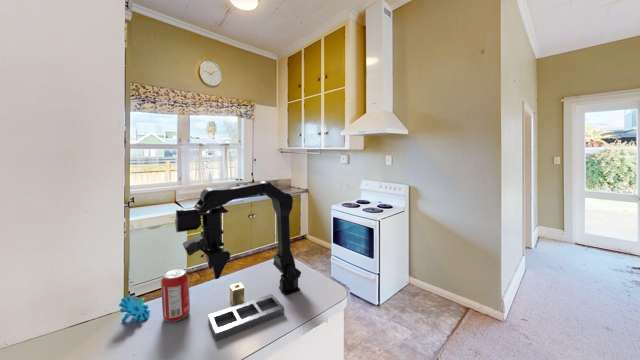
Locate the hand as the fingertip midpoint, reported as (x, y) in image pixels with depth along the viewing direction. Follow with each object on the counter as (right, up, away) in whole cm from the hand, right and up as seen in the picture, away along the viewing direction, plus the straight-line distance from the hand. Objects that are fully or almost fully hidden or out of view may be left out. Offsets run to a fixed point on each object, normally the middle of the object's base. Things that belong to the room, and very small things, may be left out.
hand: (213, 272), depth 84 cm
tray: (+11, -15, 0) cm, 19 cm away
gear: (-25, -15, -1) cm, 29 cm away
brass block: (+5, -14, +9) cm, 17 cm away
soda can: (-12, -15, 0) cm, 19 cm away
